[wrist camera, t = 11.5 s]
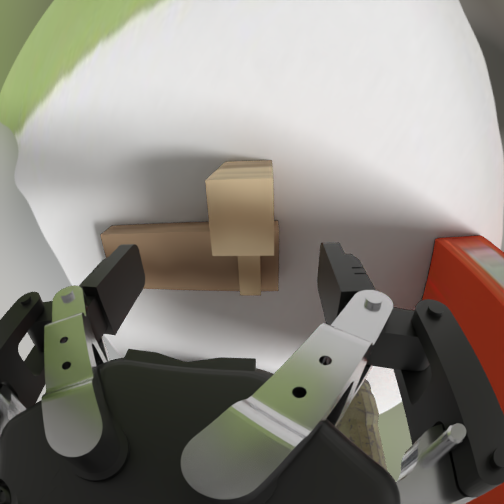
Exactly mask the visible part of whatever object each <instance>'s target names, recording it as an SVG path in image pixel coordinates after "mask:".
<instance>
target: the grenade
mask: <svg viewBox="0 0 504 504" xmlns="http://www.w3.org/2000/svg"><path fill="white" fill-rule="evenodd" d="M378 417H379V413H378V409H377V405H376V401H375V398H374V396H373V394H372V393H371V387H370V384H369V382H368V381H367V380H366V379H365V380H364V382H363V383H362V385H361V387H360V388H359V390H358V392H357V393H356V395H355V396H354V398H353V400H352V401H351V403H350V405H349V406H348V408H347V410H346V412H345V414H344V415H343V417H342V419H341V420H340V422H339V423H338V425H337V426H336V428H337V429H339V430H340V431H341V432H342V433H343V434H344V435H345V436H346V437H348V438H349V439H350V440H351V441H352V442H353V443H354V444H356V445H357V446H358V447H359V448H360V449H361V450H363V451H364V452H365V453H366V454H367V455H368V456H370V457H371V458H372V459H373V460H374V461H376V462H377V463H378V464H379V465H380V466H382V467H383V468H384V469H385V470H386V471H387V466H386V461H385V456H384V451H383V447H382V442H381V438H380V433H379V429H378Z"/></svg>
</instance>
